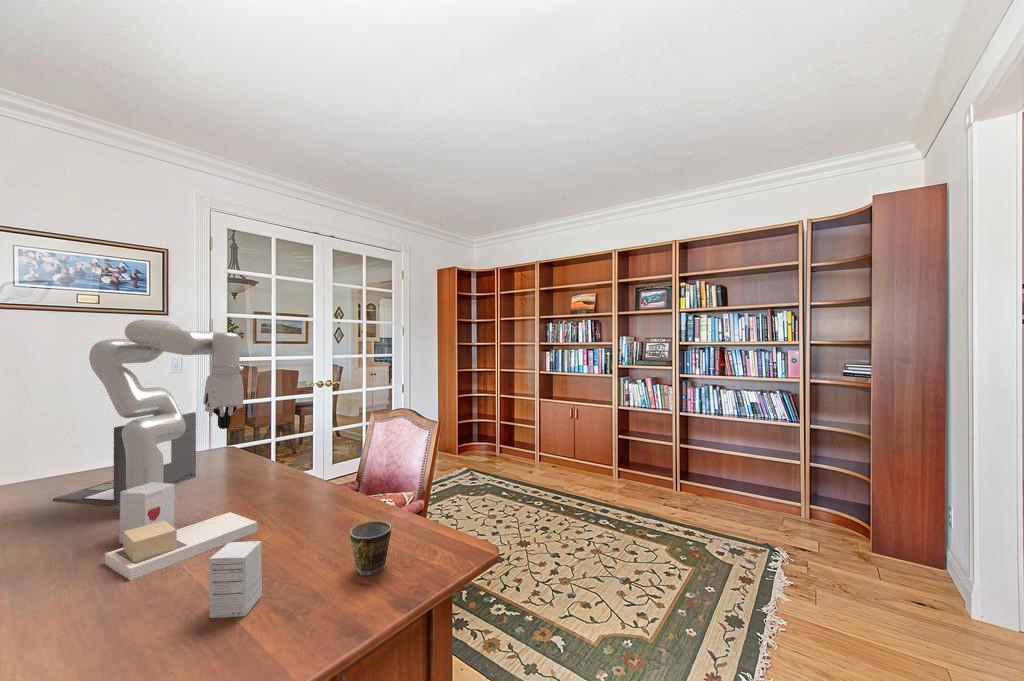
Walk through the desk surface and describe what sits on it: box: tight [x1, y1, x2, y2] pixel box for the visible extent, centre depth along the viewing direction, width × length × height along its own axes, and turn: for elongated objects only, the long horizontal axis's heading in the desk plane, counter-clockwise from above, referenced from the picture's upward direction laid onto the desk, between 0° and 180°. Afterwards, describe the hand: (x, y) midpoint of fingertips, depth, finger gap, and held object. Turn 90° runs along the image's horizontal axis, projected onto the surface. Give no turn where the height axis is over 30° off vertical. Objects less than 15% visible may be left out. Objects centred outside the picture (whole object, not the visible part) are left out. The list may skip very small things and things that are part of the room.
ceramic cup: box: [349, 520, 392, 576], centre depth 106 cm, size 13×10×10 cm
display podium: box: [104, 511, 258, 581], centre depth 118 cm, size 15×30×3 cm, turn 151°
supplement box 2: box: [208, 540, 263, 619], centre depth 91 cm, size 7×7×13 cm
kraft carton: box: [122, 520, 178, 563], centre depth 110 cm, size 10×8×5 cm
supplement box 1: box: [119, 482, 176, 545], centre depth 123 cm, size 9×9×15 cm
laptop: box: [52, 411, 197, 507], centre depth 163 cm, size 32×26×28 cm
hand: (223, 428), depth 135 cm, fingers closed
